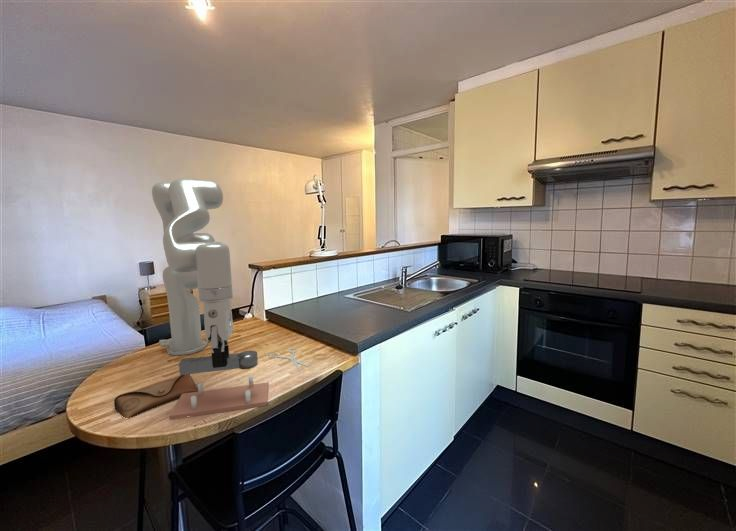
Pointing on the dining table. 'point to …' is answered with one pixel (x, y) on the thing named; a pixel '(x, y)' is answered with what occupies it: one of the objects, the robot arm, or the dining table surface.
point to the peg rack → (221, 399)
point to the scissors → (289, 358)
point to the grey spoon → (205, 365)
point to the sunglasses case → (154, 395)
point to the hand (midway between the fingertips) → (221, 363)
